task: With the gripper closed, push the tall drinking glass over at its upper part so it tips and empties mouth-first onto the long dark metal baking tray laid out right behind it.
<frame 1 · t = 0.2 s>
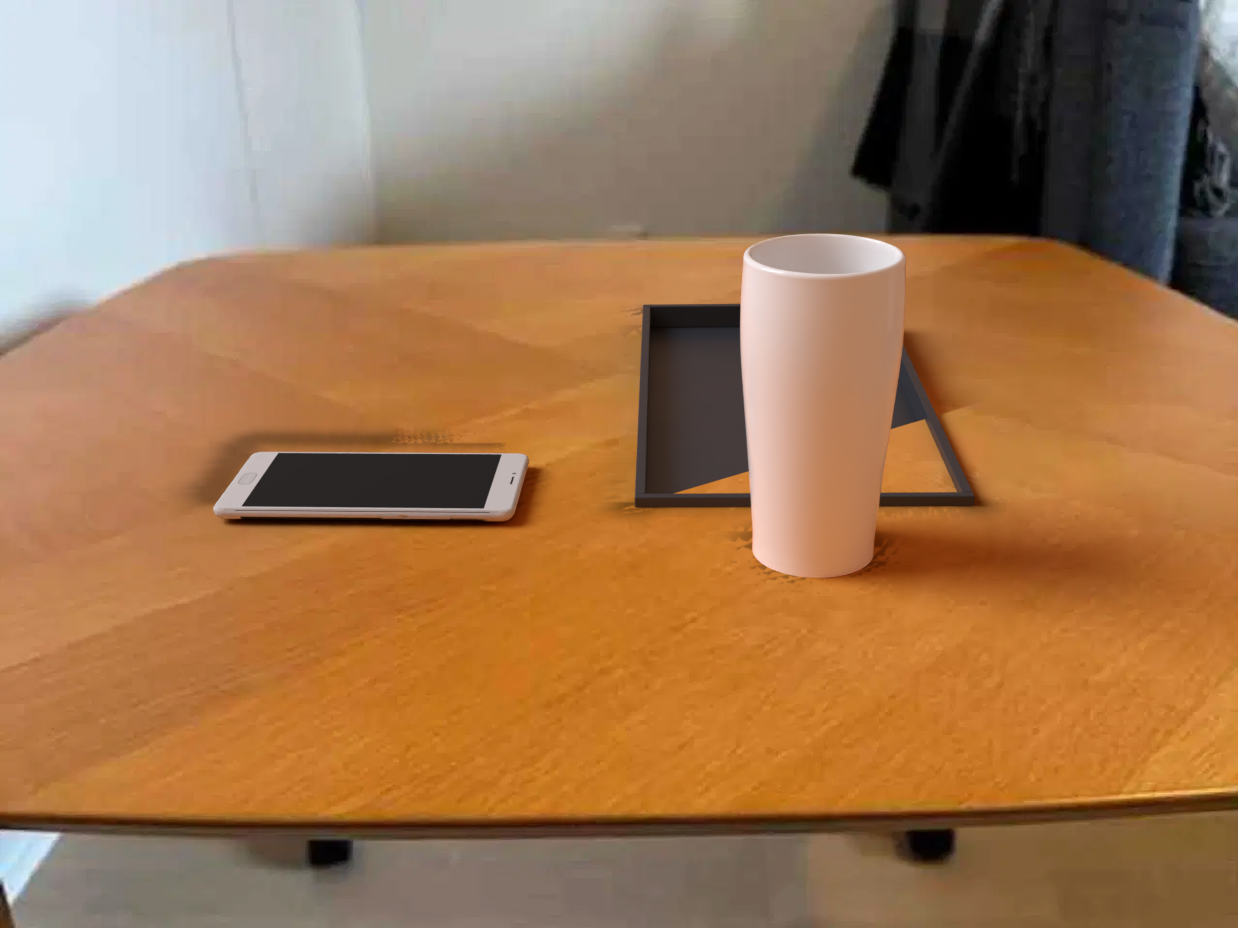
smartphone: (377, 494, 75), on the table
tray: (779, 416, 84), on the table
drinking glass: (811, 582, 66), on the table
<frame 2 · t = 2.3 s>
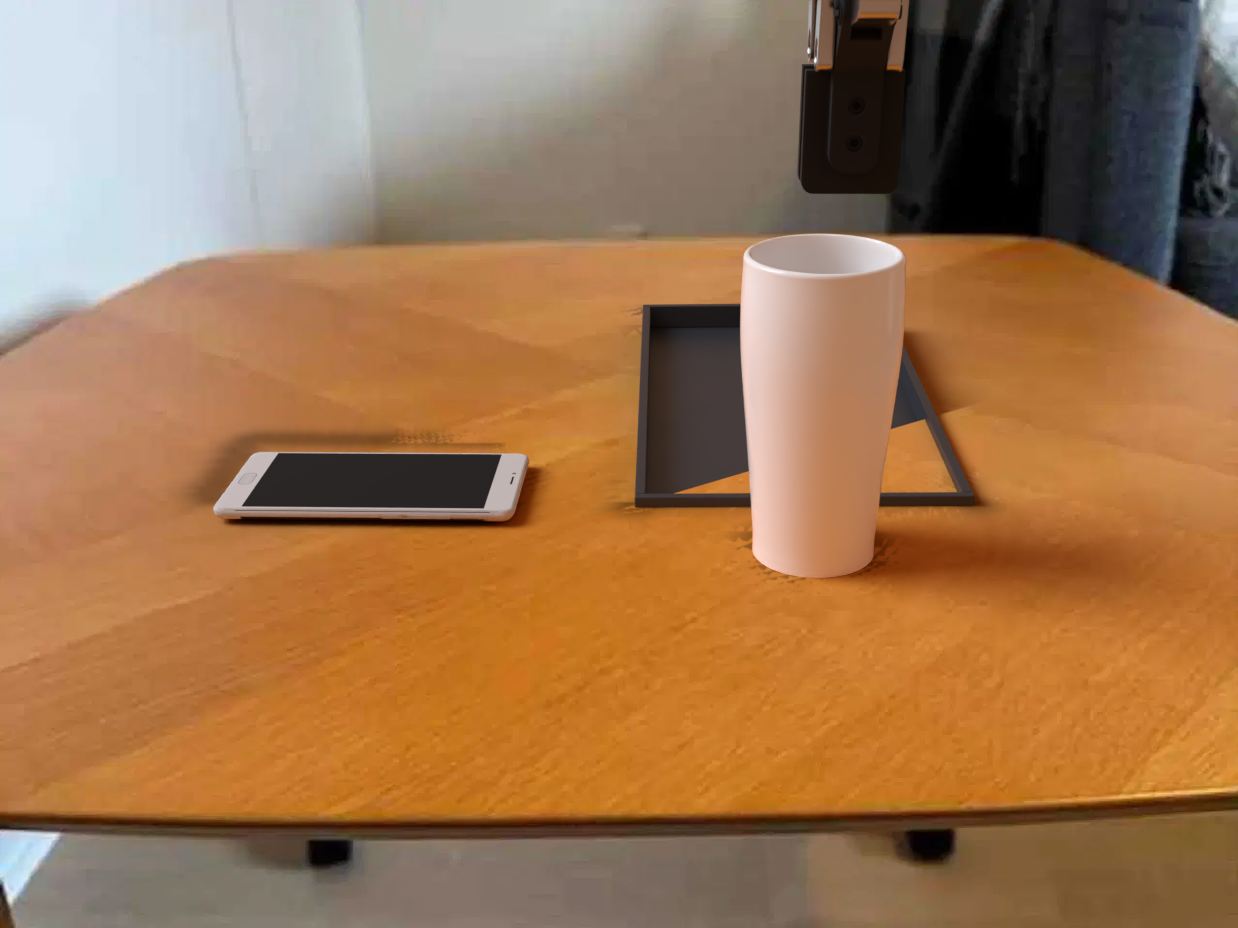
hand: (846, 187, 49), 20 cm above the table, tool pointing down, fingers closed
nothing on the table moved.
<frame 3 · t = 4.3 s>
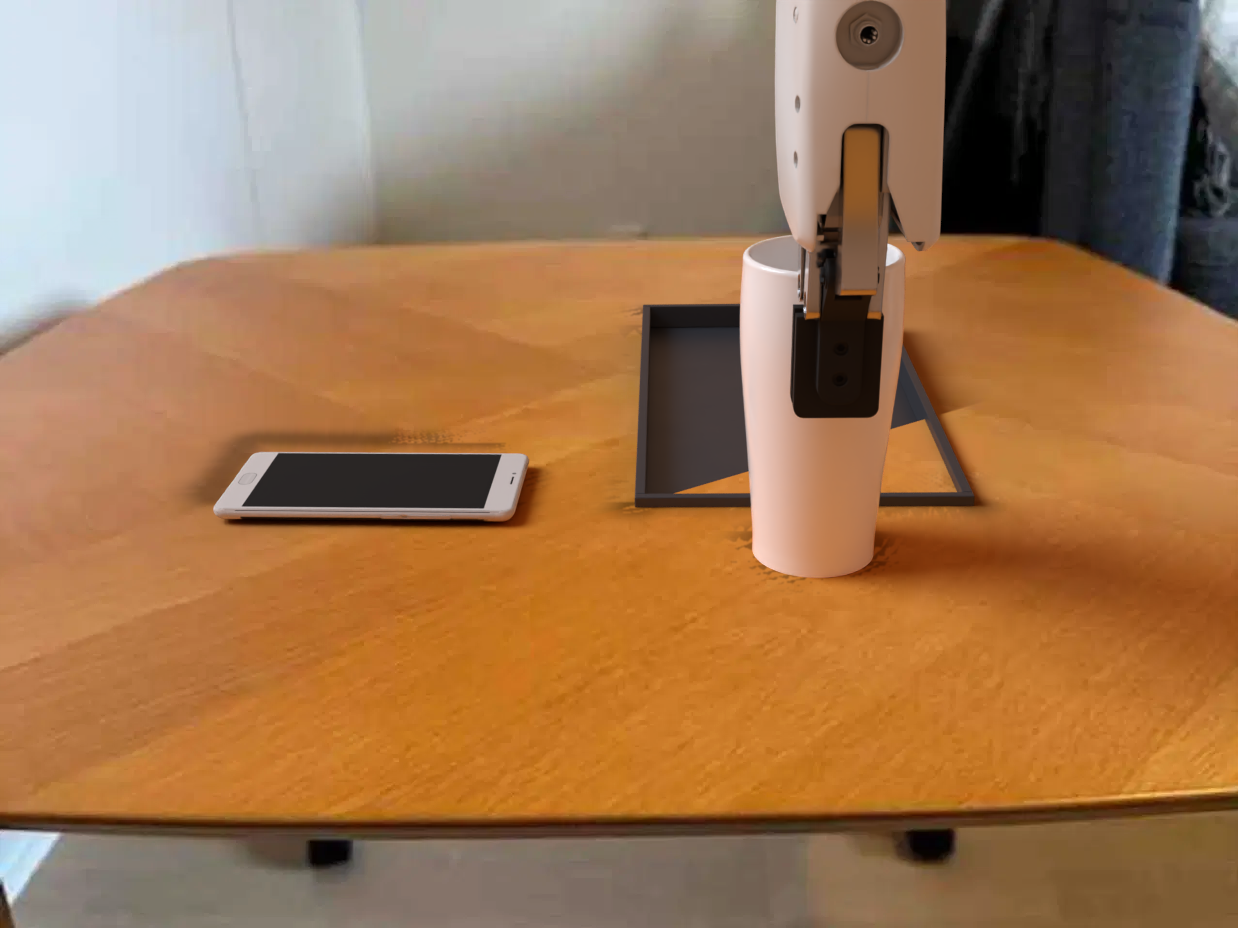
hand: (833, 409, 56), 11 cm above the table, tool pointing down, fingers closed
drinking glass: (811, 582, 66), on the table, touching gripper
everything else where it was.
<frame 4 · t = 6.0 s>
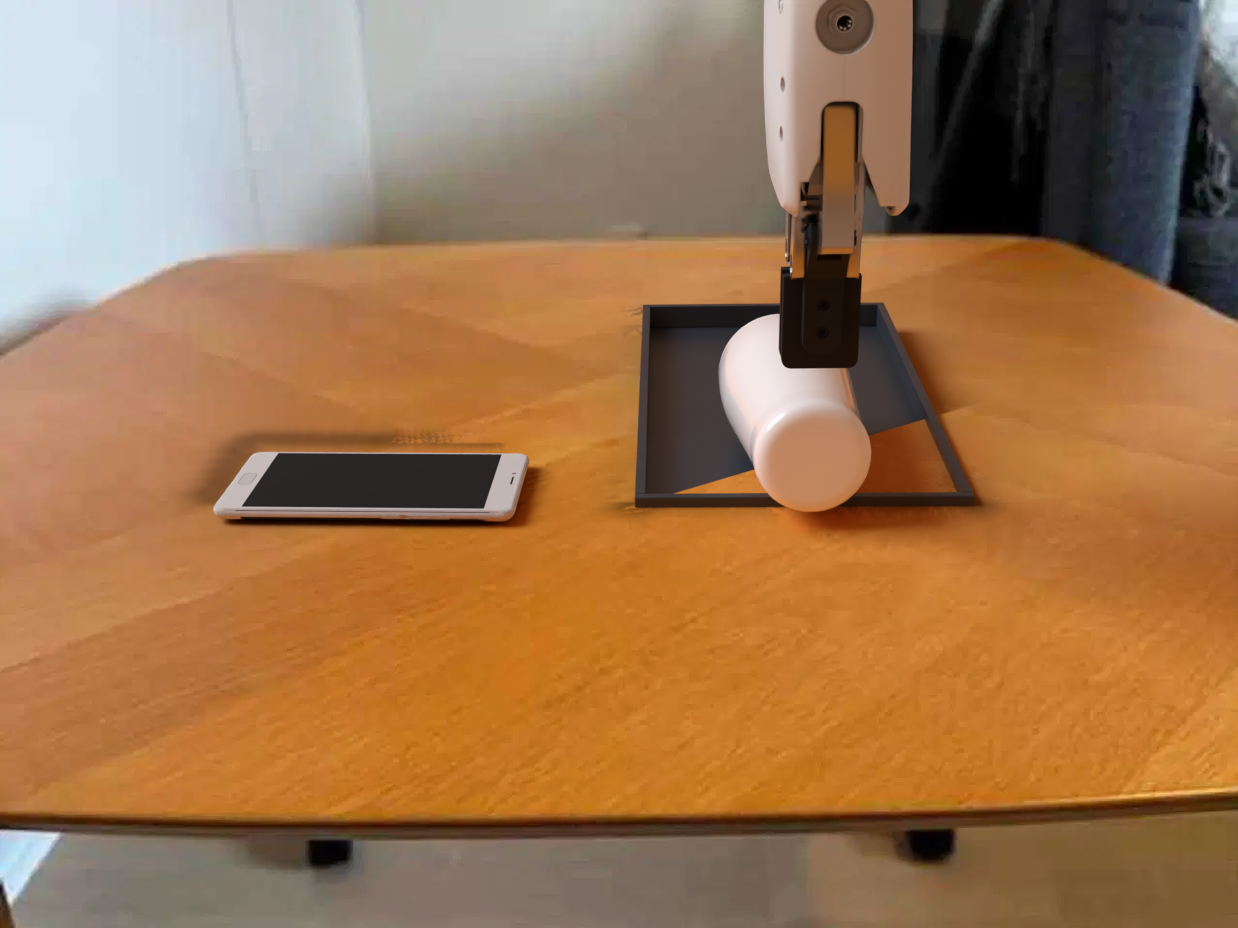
hand: (817, 361, 62), 10 cm above the table, tool pointing down, fingers closed
drinking glass: (814, 462, 65), point 5 cm above the table, touching tray
everything else where it was.
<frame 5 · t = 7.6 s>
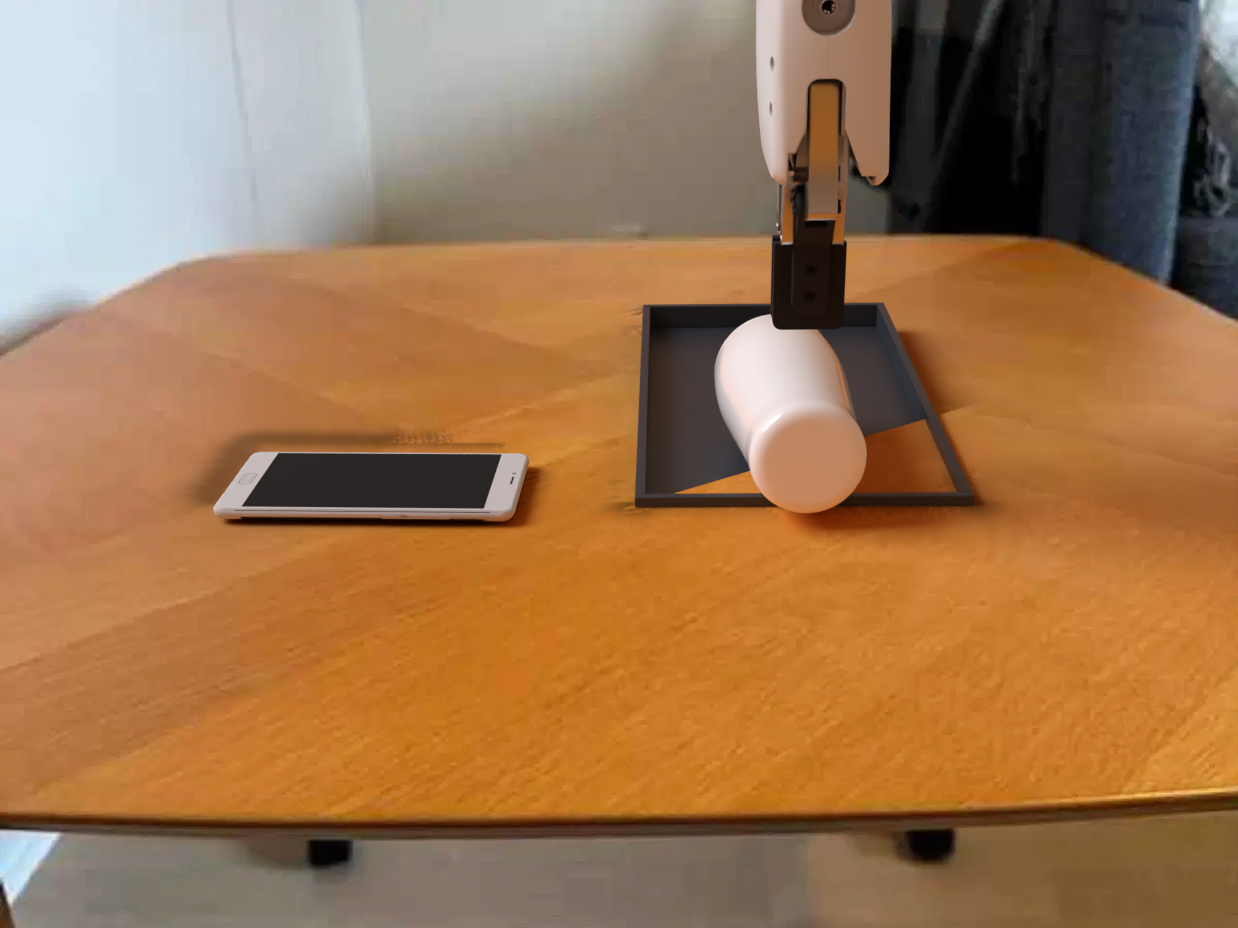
hand: (806, 323, 67), 10 cm above the table, tool pointing down, fingers closed
nothing on the table moved.
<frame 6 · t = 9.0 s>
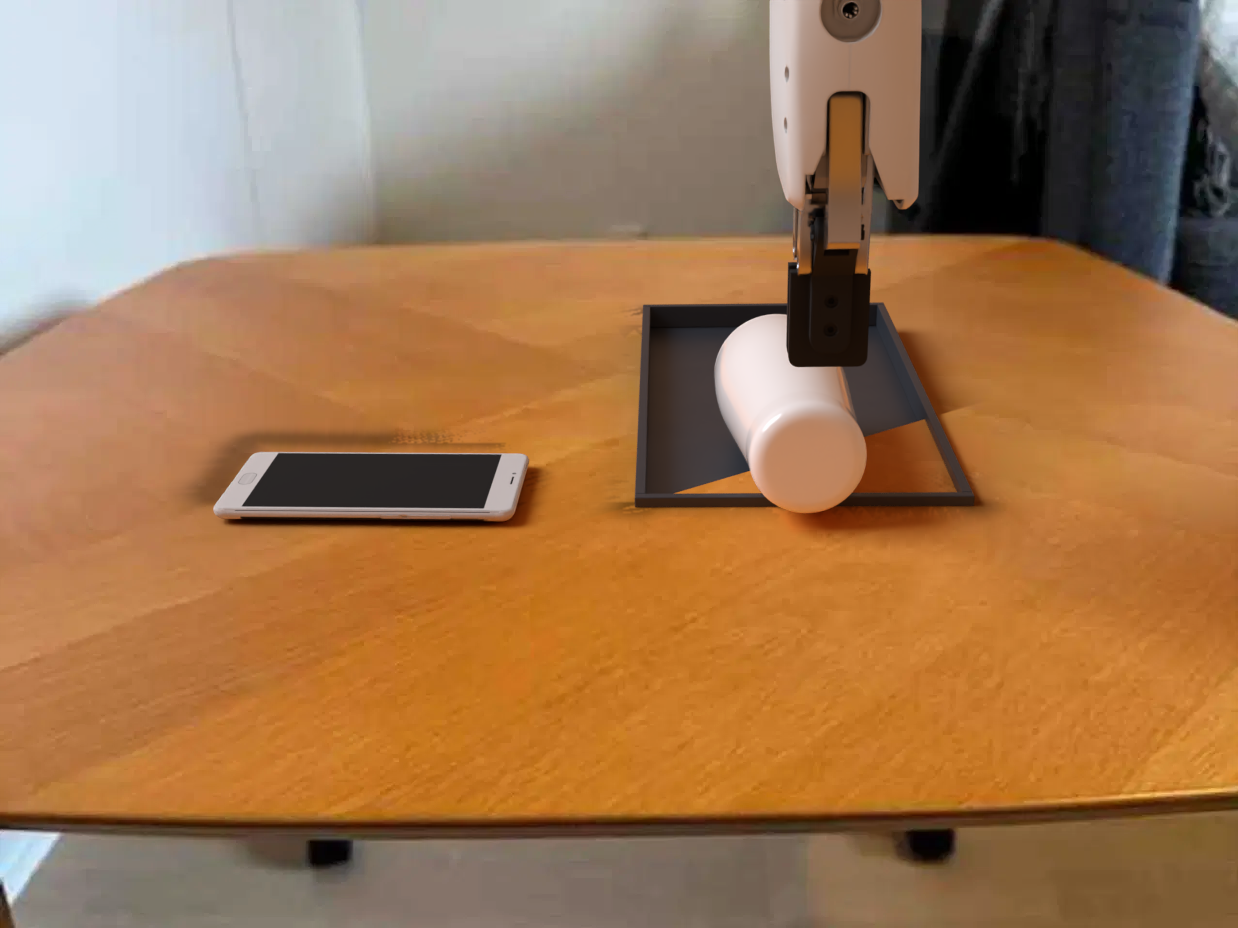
hand: (825, 359, 61), 11 cm above the table, tool pointing down, fingers closed
nothing on the table moved.
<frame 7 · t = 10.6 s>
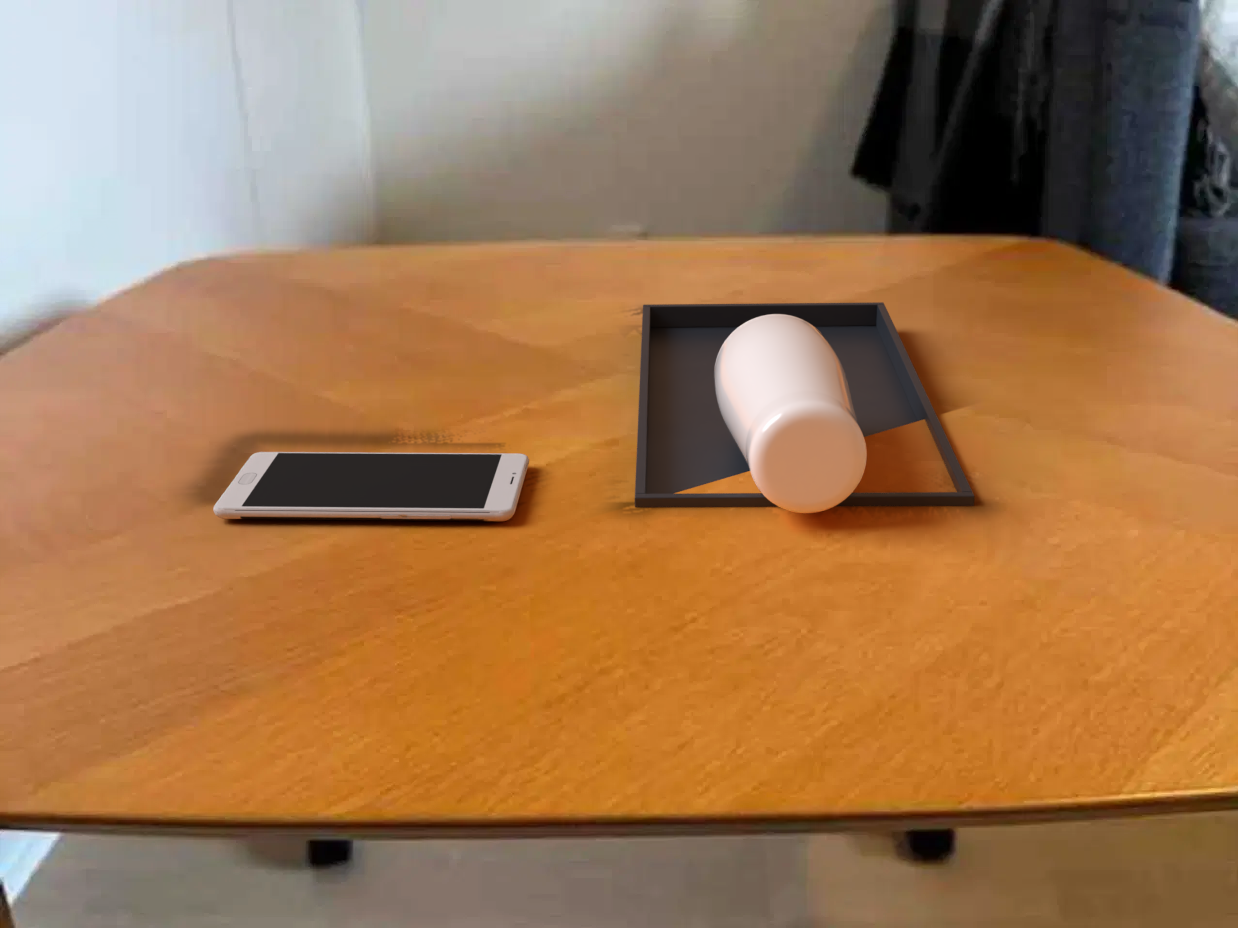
nothing on the table moved.
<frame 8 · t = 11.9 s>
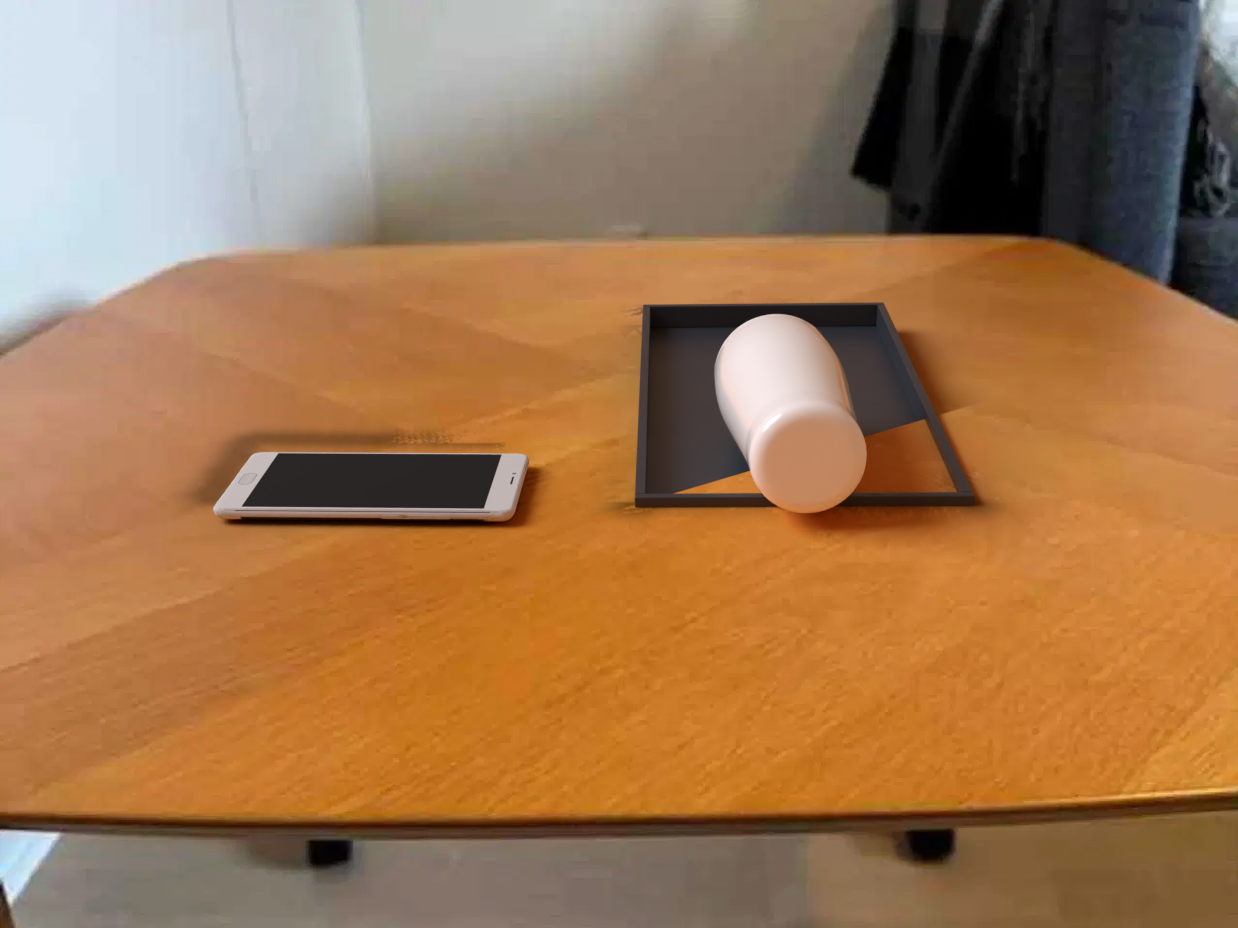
nothing on the table moved.
at the end: drinking glass tilted 94°; drinking glass touching tray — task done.
